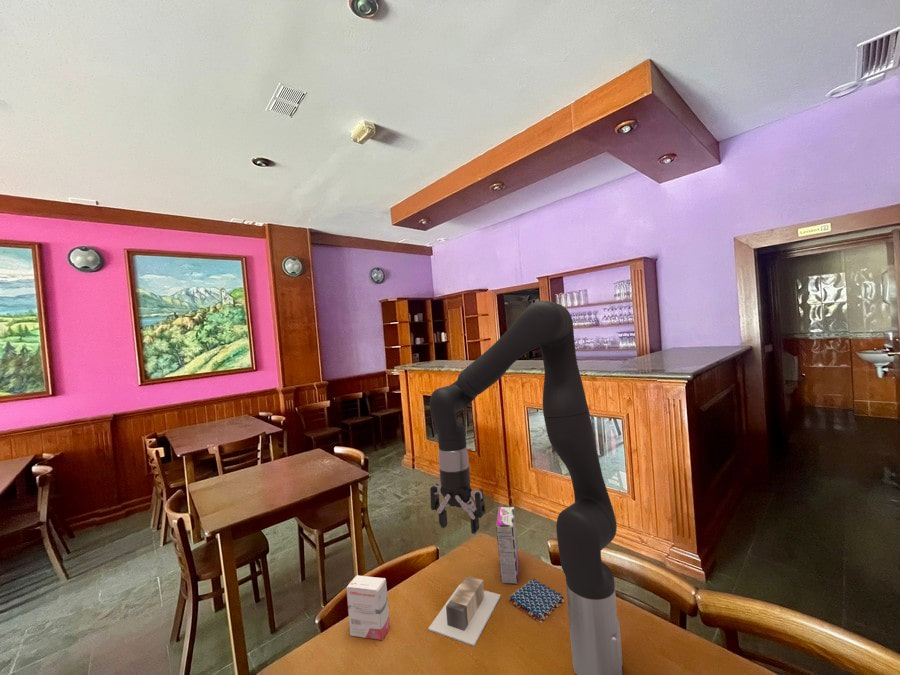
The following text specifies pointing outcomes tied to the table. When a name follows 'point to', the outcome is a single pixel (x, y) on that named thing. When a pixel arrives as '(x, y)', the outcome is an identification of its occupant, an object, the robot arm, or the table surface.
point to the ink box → (368, 607)
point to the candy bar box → (507, 545)
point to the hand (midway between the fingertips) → (459, 529)
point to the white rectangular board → (474, 625)
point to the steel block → (465, 603)
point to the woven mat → (536, 600)
